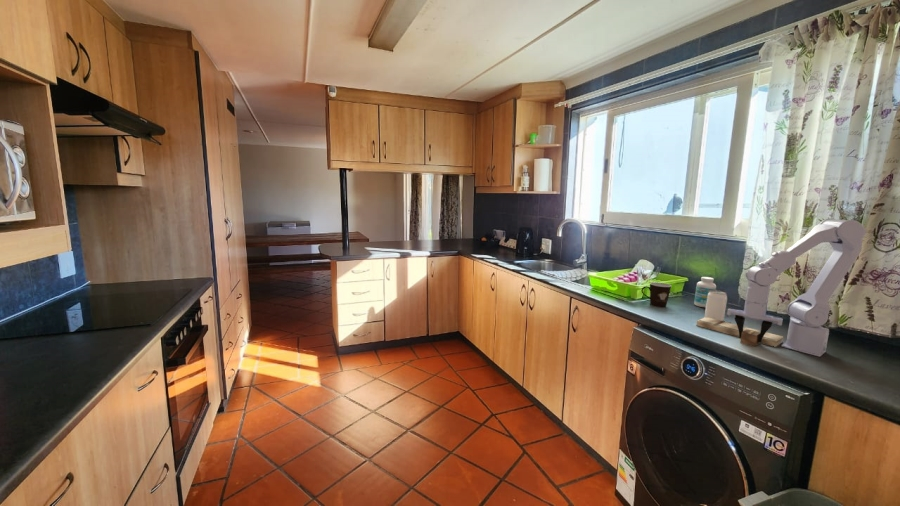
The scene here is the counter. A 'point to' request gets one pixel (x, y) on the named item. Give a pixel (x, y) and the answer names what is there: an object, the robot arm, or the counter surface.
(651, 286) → the coffee mug
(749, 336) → the brown wooden cube
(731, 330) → the maple board
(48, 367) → the counter surface
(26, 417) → the counter surface
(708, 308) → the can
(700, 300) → the pill bottle
